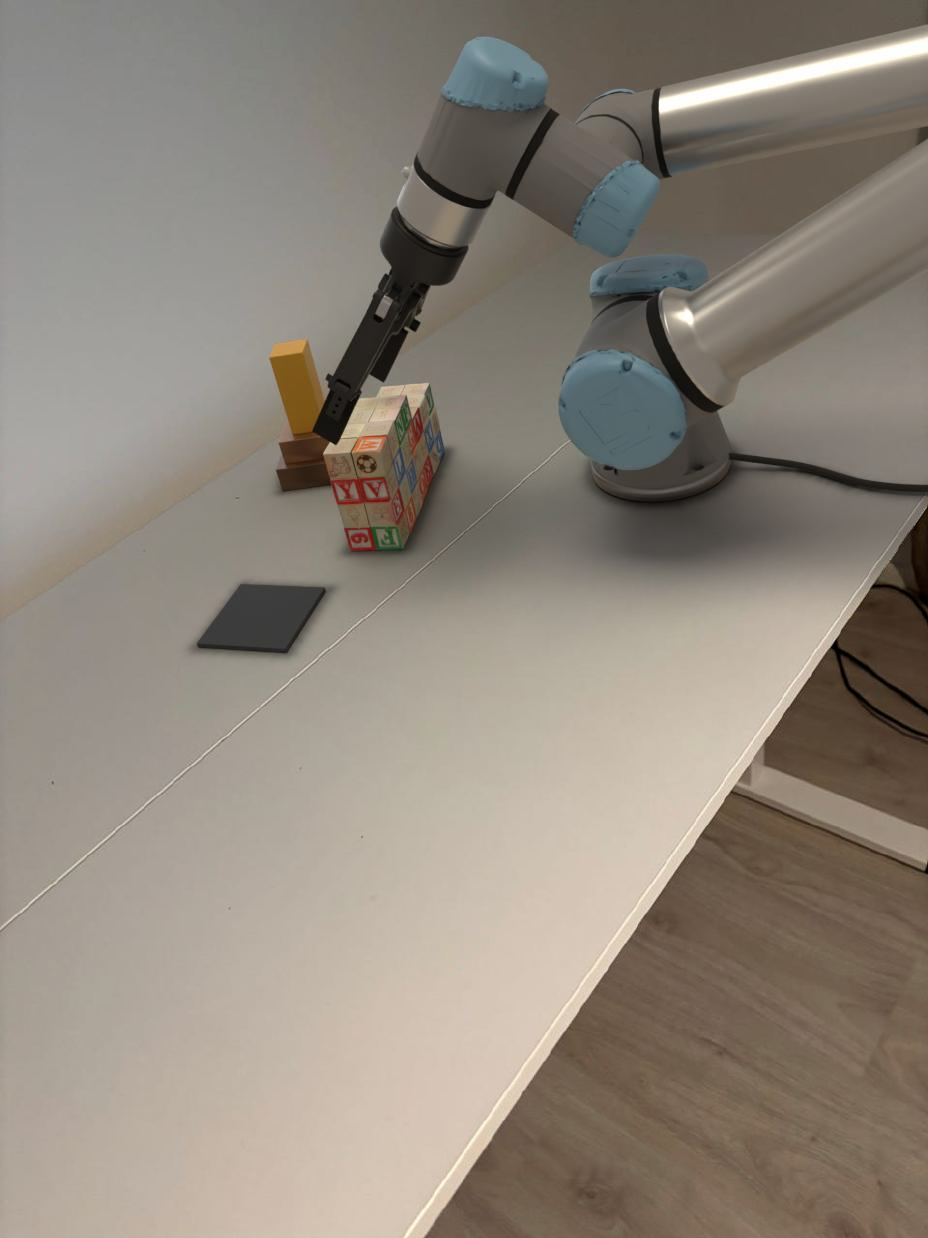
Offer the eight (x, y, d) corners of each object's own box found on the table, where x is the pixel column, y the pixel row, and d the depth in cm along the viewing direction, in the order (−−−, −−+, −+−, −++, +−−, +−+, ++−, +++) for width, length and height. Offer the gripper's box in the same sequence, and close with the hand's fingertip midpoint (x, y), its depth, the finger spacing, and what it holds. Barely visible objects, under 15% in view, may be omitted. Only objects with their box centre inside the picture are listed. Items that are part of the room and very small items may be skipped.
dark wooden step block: (361, 445, 132) (350, 403, 128) (353, 481, 124) (342, 437, 121) (294, 455, 133) (281, 413, 129) (282, 491, 126) (268, 447, 122)
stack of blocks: (397, 453, 128) (375, 361, 121) (445, 451, 127) (426, 357, 119) (349, 551, 112) (321, 452, 105) (404, 550, 110) (379, 449, 103)
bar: (328, 415, 126) (307, 338, 120) (324, 430, 123) (302, 352, 117) (297, 419, 127) (274, 343, 121) (292, 434, 124) (268, 357, 118)
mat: (326, 590, 107) (324, 587, 106) (286, 652, 99) (285, 648, 99) (242, 587, 110) (240, 583, 110) (197, 647, 103) (196, 643, 102)
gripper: (438, 160, 100) (362, 334, 114) (344, 252, 82) (267, 445, 96) (505, 202, 101) (420, 369, 115) (426, 302, 82) (337, 486, 97)
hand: (350, 404), depth 105 cm, fingers open, 13 cm apart
